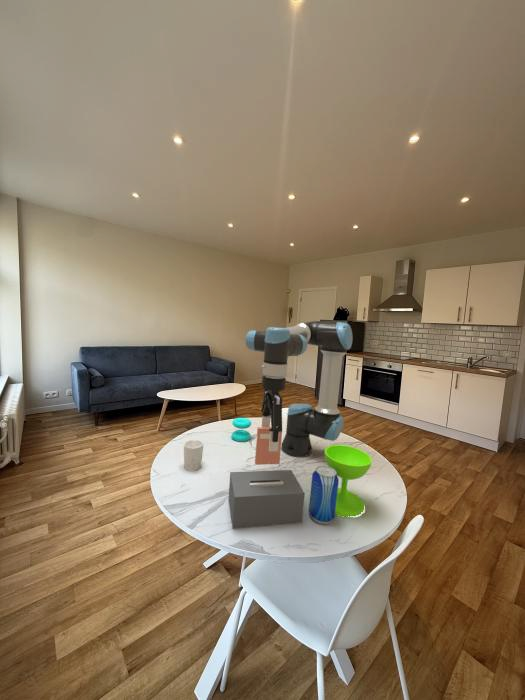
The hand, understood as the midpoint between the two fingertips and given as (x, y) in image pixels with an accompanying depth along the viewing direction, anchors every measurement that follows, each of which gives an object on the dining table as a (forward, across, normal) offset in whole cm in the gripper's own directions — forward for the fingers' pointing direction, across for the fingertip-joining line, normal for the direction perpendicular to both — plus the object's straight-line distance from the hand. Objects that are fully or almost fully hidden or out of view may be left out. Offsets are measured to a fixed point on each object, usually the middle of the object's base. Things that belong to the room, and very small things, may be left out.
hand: (268, 442), depth 92 cm
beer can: (+24, +5, +18) cm, 31 cm away
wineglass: (+24, -1, +29) cm, 38 cm away
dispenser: (+24, 0, 0) cm, 24 cm away
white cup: (+24, -30, -24) cm, 45 cm away
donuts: (+24, -58, 0) cm, 63 cm away
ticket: (+7, 0, 0) cm, 7 cm away
